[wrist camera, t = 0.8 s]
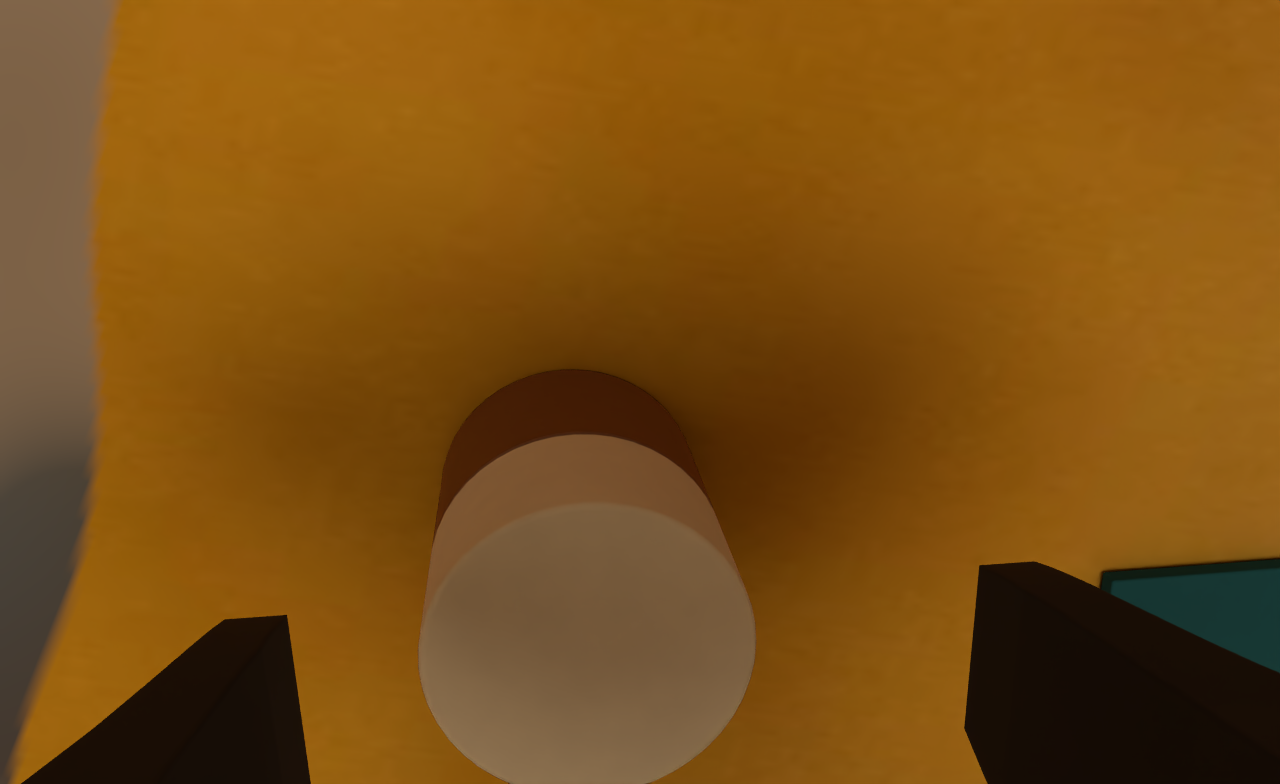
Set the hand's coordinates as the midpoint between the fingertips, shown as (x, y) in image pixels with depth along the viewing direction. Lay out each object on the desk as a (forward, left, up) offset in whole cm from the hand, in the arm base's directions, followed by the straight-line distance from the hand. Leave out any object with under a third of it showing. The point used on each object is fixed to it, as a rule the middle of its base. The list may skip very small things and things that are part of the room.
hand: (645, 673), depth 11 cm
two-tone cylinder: (-2, 0, -8) cm, 8 cm away
